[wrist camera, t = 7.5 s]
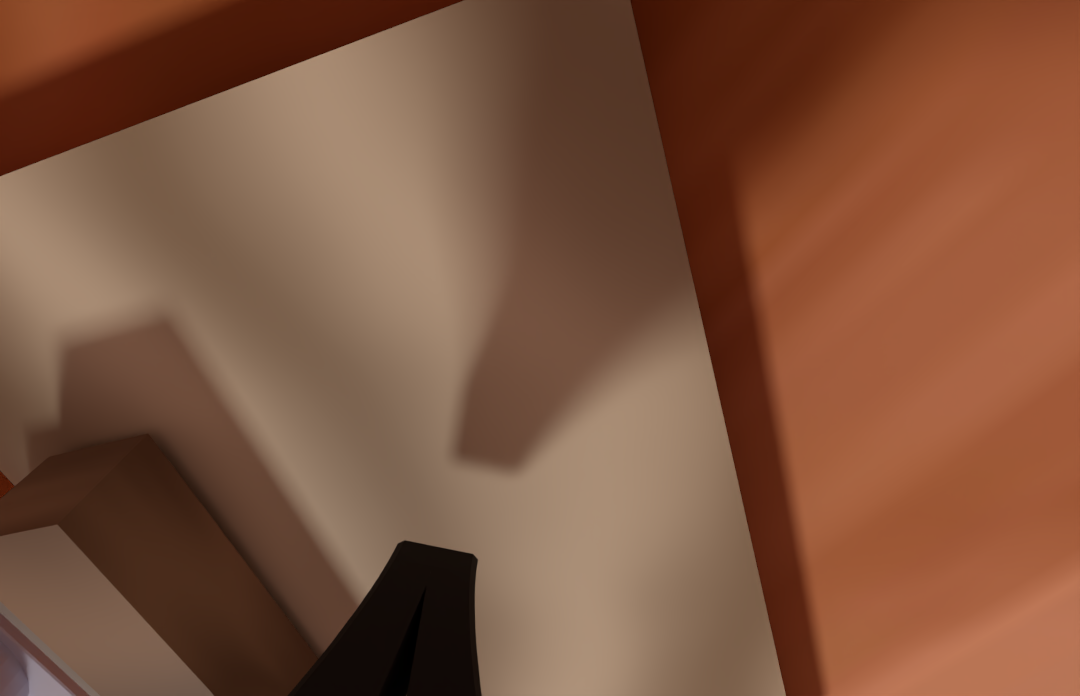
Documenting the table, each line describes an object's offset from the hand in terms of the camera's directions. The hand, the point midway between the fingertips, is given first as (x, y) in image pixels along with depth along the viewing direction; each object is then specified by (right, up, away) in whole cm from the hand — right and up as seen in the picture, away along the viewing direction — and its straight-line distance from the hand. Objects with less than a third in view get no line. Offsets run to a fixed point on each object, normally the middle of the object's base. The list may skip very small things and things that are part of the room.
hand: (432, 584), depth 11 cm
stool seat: (-1, 0, +4) cm, 4 cm away
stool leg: (-5, -3, +4) cm, 7 cm away
